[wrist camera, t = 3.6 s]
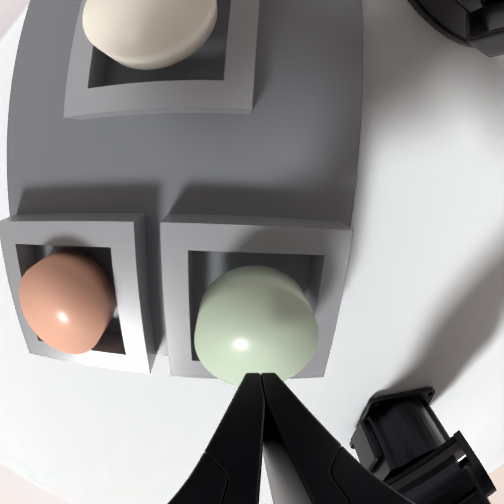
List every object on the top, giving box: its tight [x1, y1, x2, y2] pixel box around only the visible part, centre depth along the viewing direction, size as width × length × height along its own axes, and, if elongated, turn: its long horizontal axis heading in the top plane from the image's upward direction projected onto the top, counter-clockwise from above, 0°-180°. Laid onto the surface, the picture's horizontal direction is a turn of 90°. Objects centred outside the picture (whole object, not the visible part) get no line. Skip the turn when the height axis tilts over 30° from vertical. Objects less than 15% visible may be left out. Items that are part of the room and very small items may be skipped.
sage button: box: [194, 265, 319, 386], centre depth 11 cm, size 4×4×2 cm
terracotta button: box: [19, 249, 116, 354], centre depth 11 cm, size 4×4×2 cm
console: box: [0, 0, 363, 379], centre depth 12 cm, size 16×19×4 cm
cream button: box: [82, 0, 218, 70], centre depth 7 cm, size 4×4×2 cm
